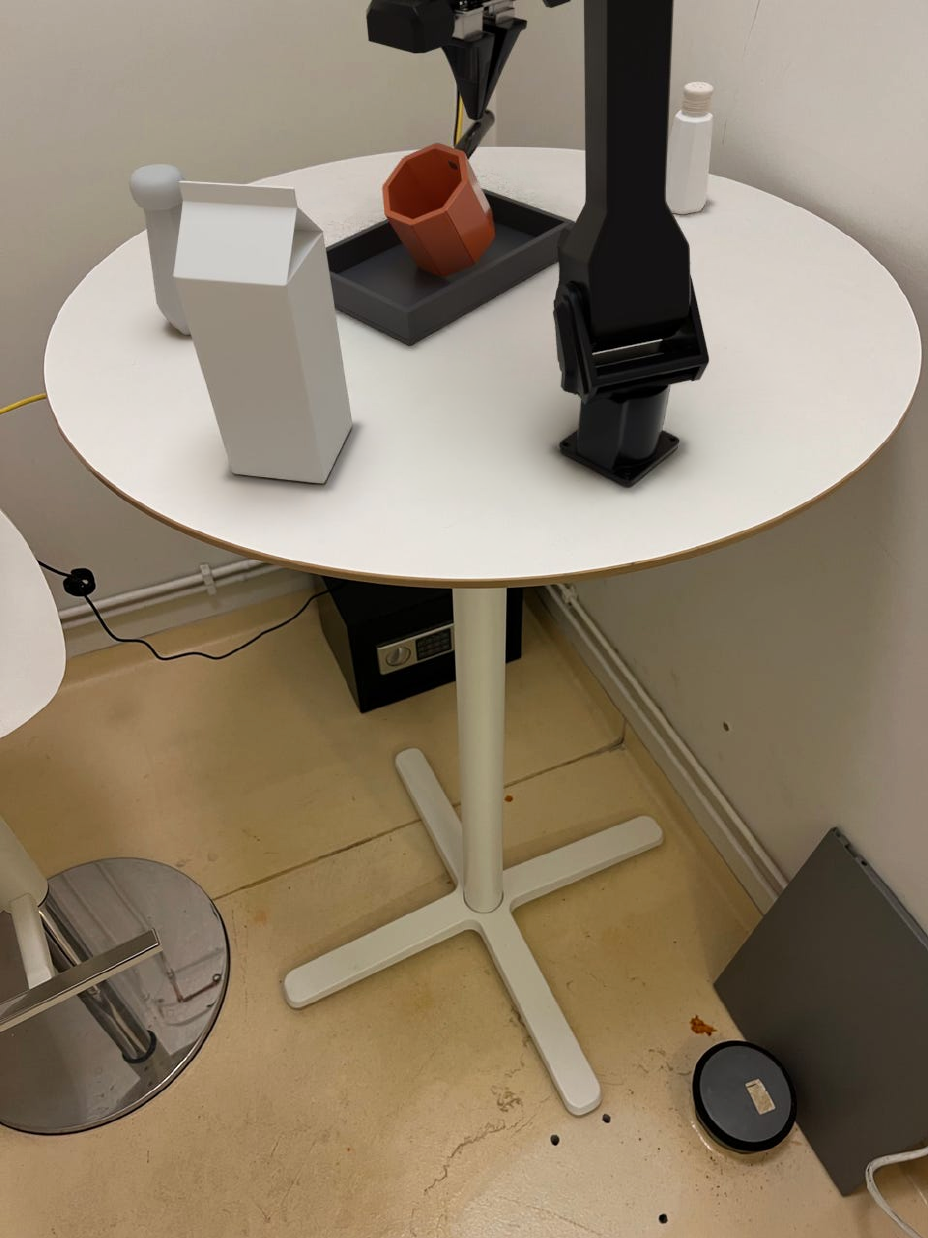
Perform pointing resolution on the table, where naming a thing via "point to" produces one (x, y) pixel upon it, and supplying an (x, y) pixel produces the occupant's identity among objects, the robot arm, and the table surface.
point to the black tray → (423, 302)
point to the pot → (441, 204)
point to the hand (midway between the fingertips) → (475, 118)
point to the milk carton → (263, 328)
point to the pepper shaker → (690, 151)
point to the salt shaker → (162, 233)
